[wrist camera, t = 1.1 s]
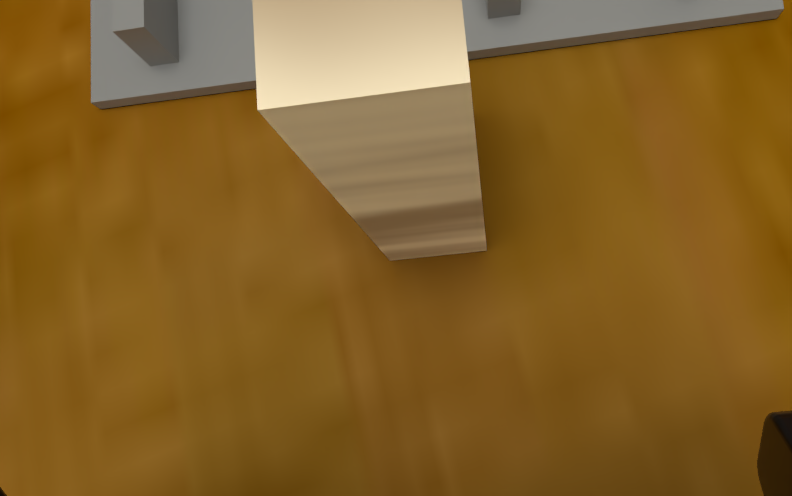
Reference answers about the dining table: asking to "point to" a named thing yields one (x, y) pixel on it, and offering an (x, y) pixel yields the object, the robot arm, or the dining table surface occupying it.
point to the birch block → (378, 114)
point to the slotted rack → (235, 52)
